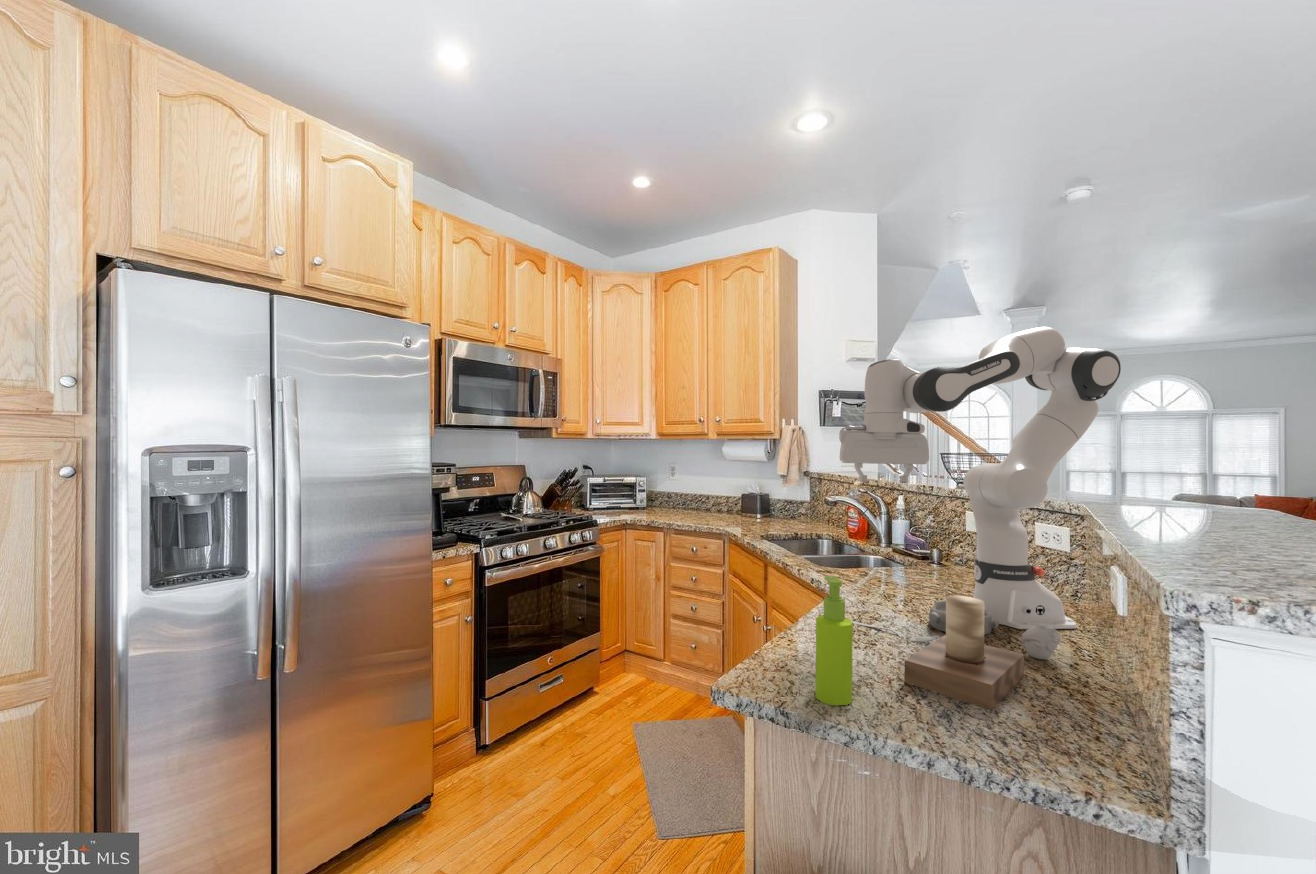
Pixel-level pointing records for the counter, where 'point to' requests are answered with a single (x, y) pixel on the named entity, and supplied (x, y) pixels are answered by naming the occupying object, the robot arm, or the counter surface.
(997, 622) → the dish
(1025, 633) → the frog figurine
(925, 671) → the walnut board
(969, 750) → the counter surface
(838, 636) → the soap dispenser
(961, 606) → the maple leg
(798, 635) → the counter surface
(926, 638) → the fork
